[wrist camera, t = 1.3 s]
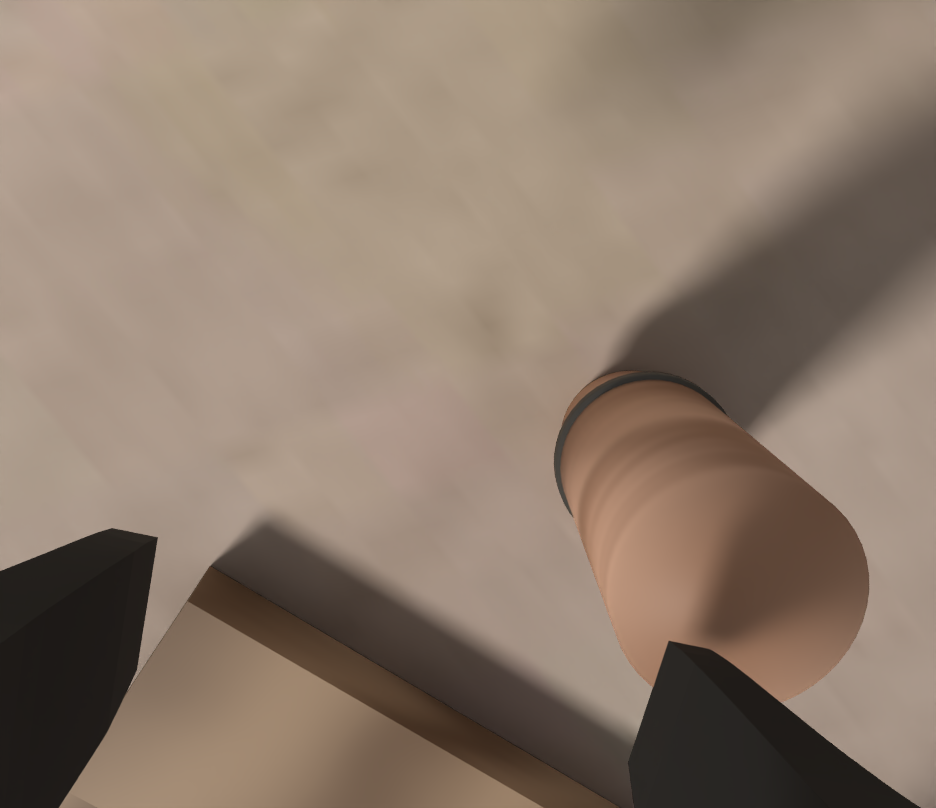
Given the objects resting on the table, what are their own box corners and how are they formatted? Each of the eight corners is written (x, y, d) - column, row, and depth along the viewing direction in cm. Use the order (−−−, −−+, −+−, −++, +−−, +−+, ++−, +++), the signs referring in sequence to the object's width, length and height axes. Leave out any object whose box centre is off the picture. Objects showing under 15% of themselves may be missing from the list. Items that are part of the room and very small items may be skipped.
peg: (742, 414, 22) (931, 563, 13) (643, 541, 23) (760, 761, 14) (610, 322, 21) (717, 416, 13) (512, 457, 22) (551, 632, 14)
